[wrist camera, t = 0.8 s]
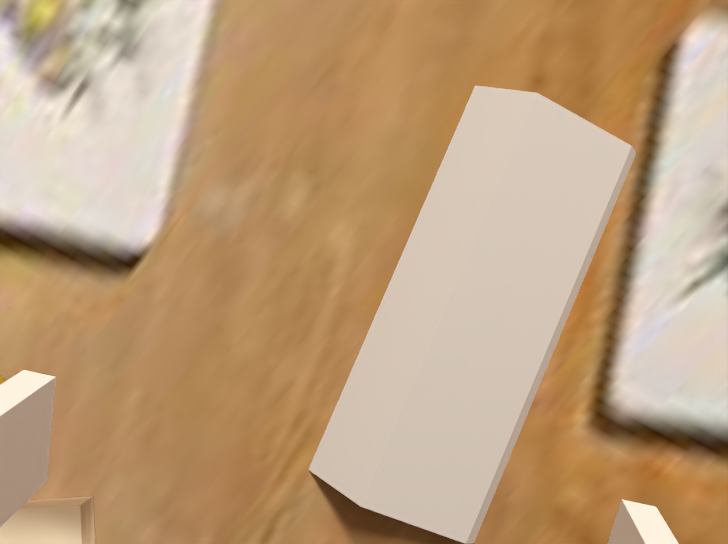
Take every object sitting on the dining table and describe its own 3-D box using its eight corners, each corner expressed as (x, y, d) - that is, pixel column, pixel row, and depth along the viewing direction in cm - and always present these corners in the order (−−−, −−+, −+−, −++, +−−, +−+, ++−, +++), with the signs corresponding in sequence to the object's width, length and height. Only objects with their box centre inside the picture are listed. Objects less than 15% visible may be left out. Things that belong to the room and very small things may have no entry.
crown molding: (473, 540, 44) (482, 560, 41) (308, 469, 45) (302, 482, 41) (630, 152, 46) (652, 139, 42) (469, 87, 46) (478, 68, 43)
